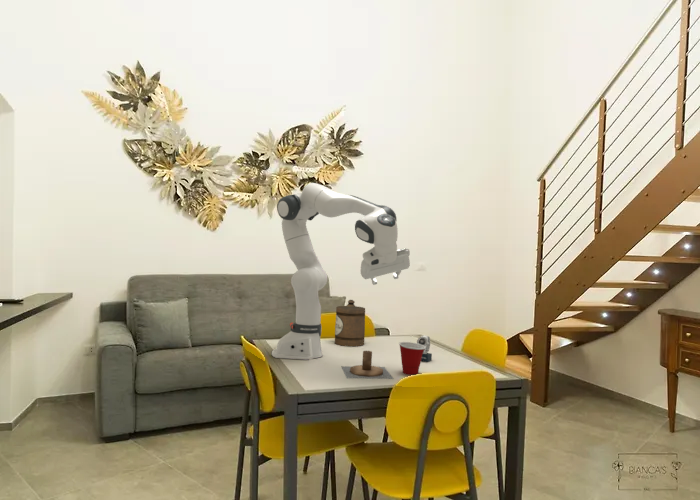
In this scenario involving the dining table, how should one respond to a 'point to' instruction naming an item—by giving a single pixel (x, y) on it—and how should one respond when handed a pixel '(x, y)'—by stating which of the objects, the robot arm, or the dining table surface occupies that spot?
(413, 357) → the plastic cup
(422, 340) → the grey black curved piece
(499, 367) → the dining table surface
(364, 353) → the walnut lid
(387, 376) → the rubber mat
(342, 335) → the wooden container
